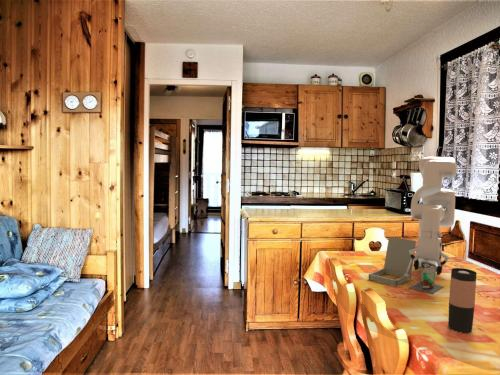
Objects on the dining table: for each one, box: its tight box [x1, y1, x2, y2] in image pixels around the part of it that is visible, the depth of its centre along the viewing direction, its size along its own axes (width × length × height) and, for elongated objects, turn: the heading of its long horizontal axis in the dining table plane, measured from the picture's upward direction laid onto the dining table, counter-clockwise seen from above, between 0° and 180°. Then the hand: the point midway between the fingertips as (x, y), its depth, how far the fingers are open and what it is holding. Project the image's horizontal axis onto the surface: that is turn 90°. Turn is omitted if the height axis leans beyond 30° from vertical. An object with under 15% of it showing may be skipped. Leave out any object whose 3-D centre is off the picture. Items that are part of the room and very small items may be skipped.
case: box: [368, 236, 417, 287], centre depth 189 cm, size 21×14×18 cm, turn 137°
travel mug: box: [447, 267, 478, 334], centre depth 133 cm, size 8×8×20 cm
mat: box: [408, 281, 444, 295], centre depth 177 cm, size 14×10×1 cm
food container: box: [419, 261, 437, 290], centre depth 176 cm, size 12×6×10 cm, turn 162°
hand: (427, 271), depth 177 cm, fingers open, 9 cm apart
